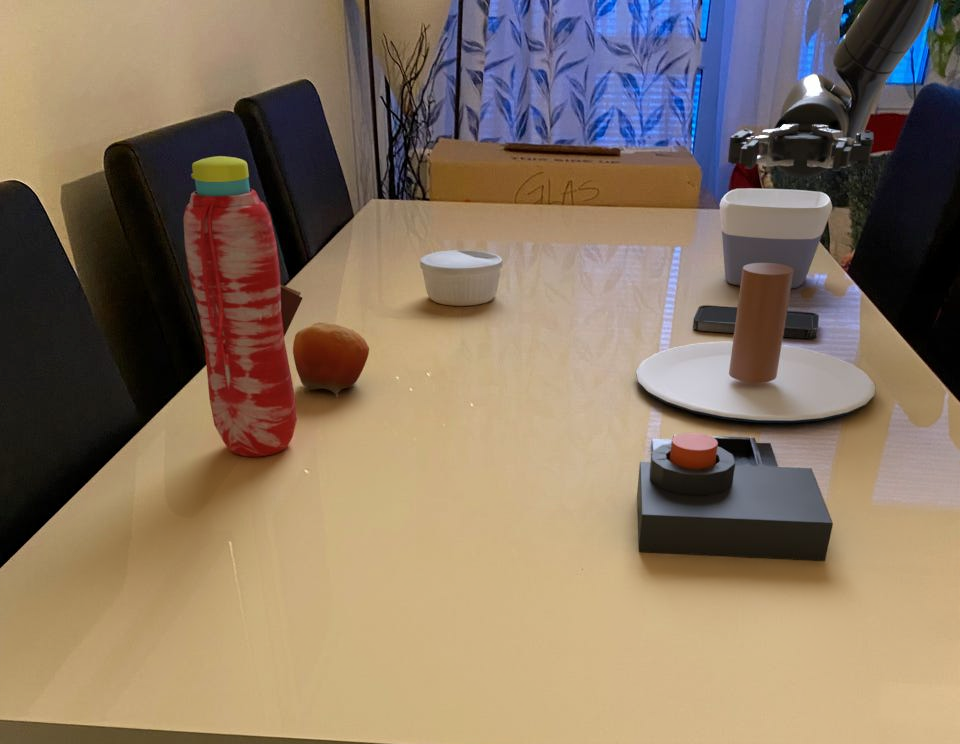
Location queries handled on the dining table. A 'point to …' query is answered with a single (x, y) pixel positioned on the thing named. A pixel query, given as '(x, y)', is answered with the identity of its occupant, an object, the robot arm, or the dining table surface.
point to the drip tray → (739, 450)
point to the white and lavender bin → (772, 229)
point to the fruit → (329, 356)
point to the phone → (726, 319)
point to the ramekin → (461, 276)
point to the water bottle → (240, 308)
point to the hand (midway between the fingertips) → (792, 158)
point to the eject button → (693, 450)
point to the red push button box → (730, 509)
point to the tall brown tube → (760, 321)
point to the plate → (755, 385)
